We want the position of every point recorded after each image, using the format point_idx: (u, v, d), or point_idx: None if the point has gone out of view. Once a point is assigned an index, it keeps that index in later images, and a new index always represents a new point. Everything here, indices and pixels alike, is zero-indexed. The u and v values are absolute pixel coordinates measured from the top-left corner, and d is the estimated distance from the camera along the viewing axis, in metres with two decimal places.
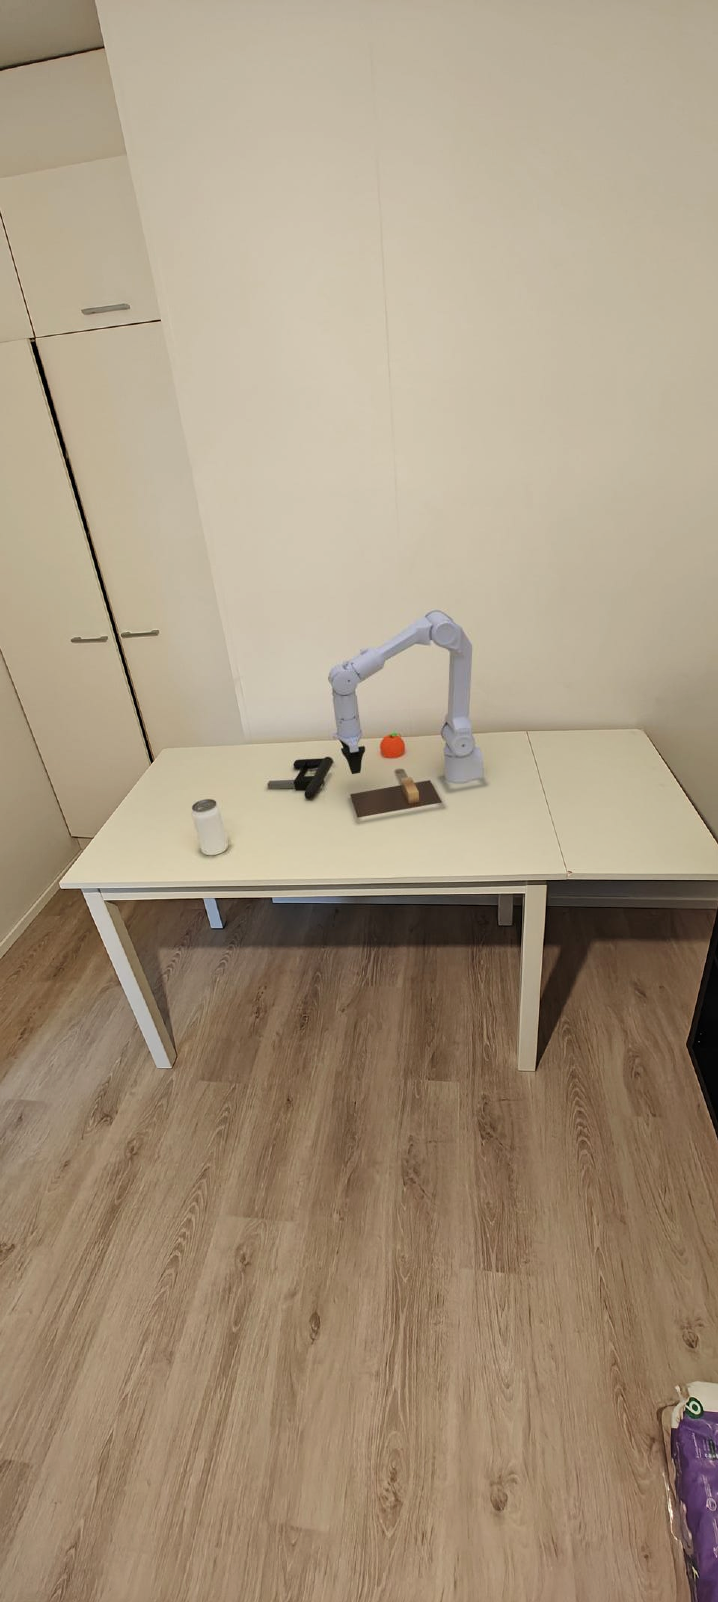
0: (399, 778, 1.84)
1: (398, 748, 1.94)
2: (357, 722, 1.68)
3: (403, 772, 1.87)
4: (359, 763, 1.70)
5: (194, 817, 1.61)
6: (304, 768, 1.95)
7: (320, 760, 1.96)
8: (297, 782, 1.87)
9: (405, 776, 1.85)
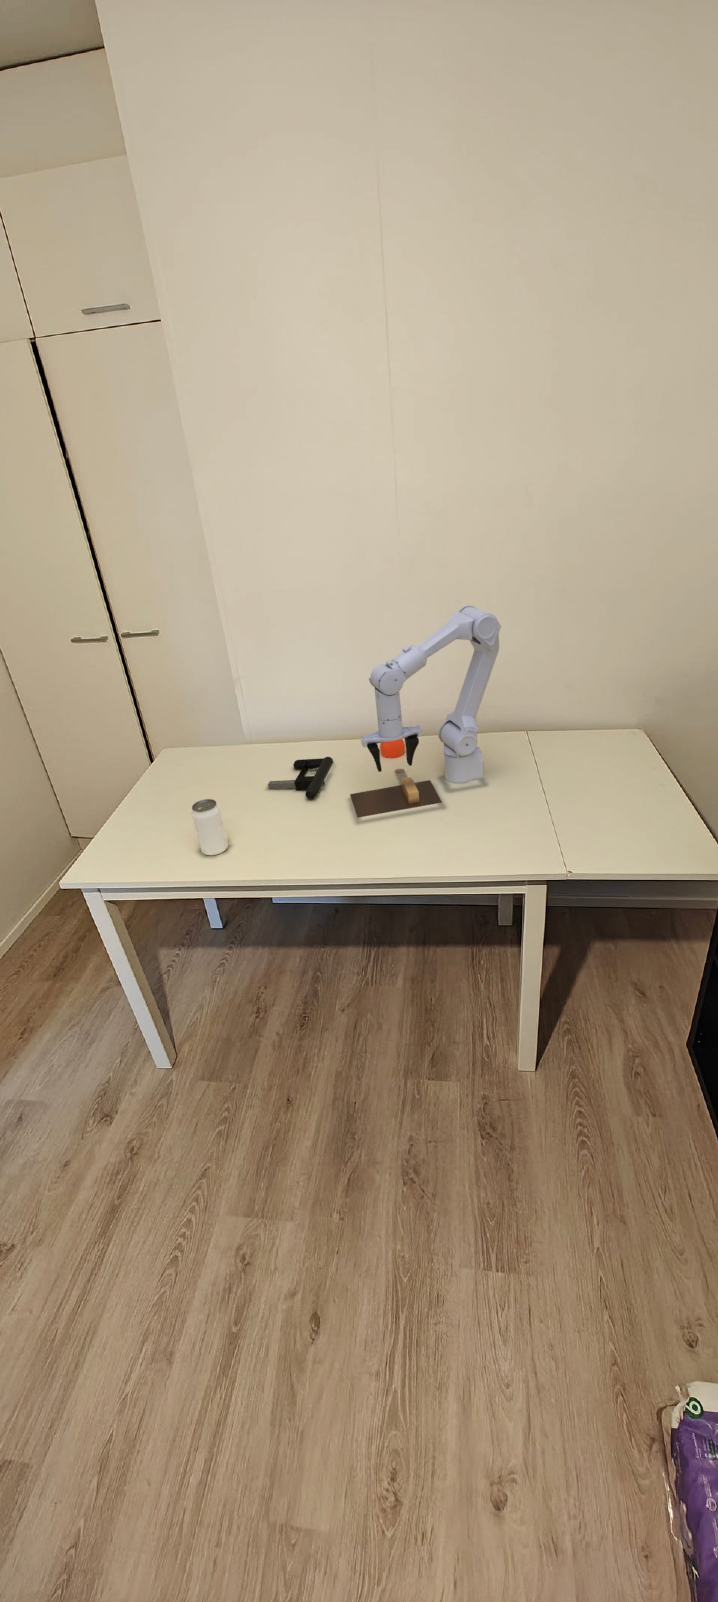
0: (399, 778, 1.84)
1: (398, 748, 1.94)
2: (384, 726, 1.65)
3: (403, 772, 1.87)
4: None
5: (194, 817, 1.61)
6: (304, 768, 1.95)
7: (320, 760, 1.96)
8: (298, 782, 1.87)
9: (405, 776, 1.85)
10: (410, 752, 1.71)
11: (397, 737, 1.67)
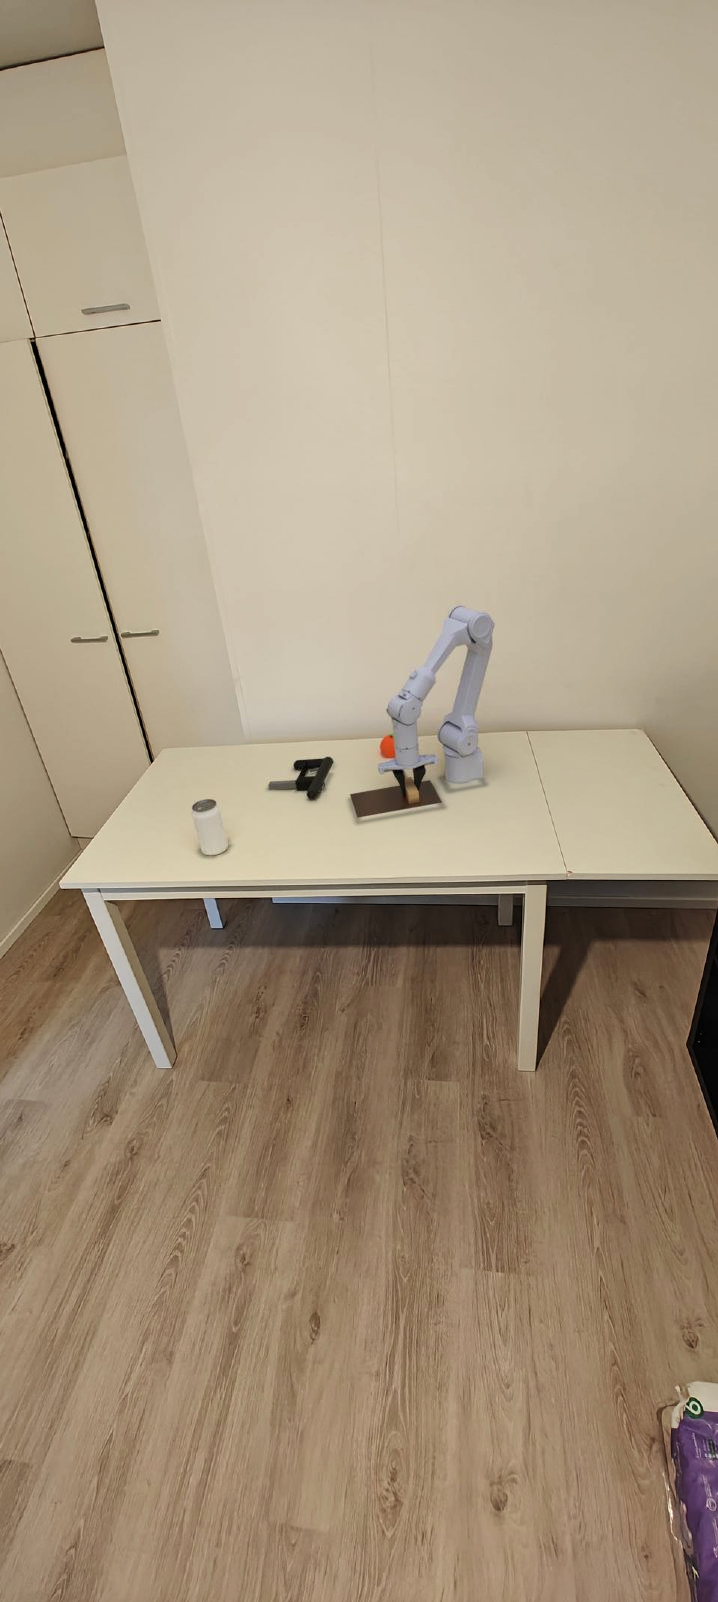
0: None
1: None
2: (400, 754, 1.68)
3: None
4: None
5: (194, 817, 1.61)
6: (304, 768, 1.95)
7: (320, 760, 1.96)
8: (298, 782, 1.87)
9: (405, 776, 1.85)
10: (417, 781, 1.73)
11: (413, 765, 1.70)
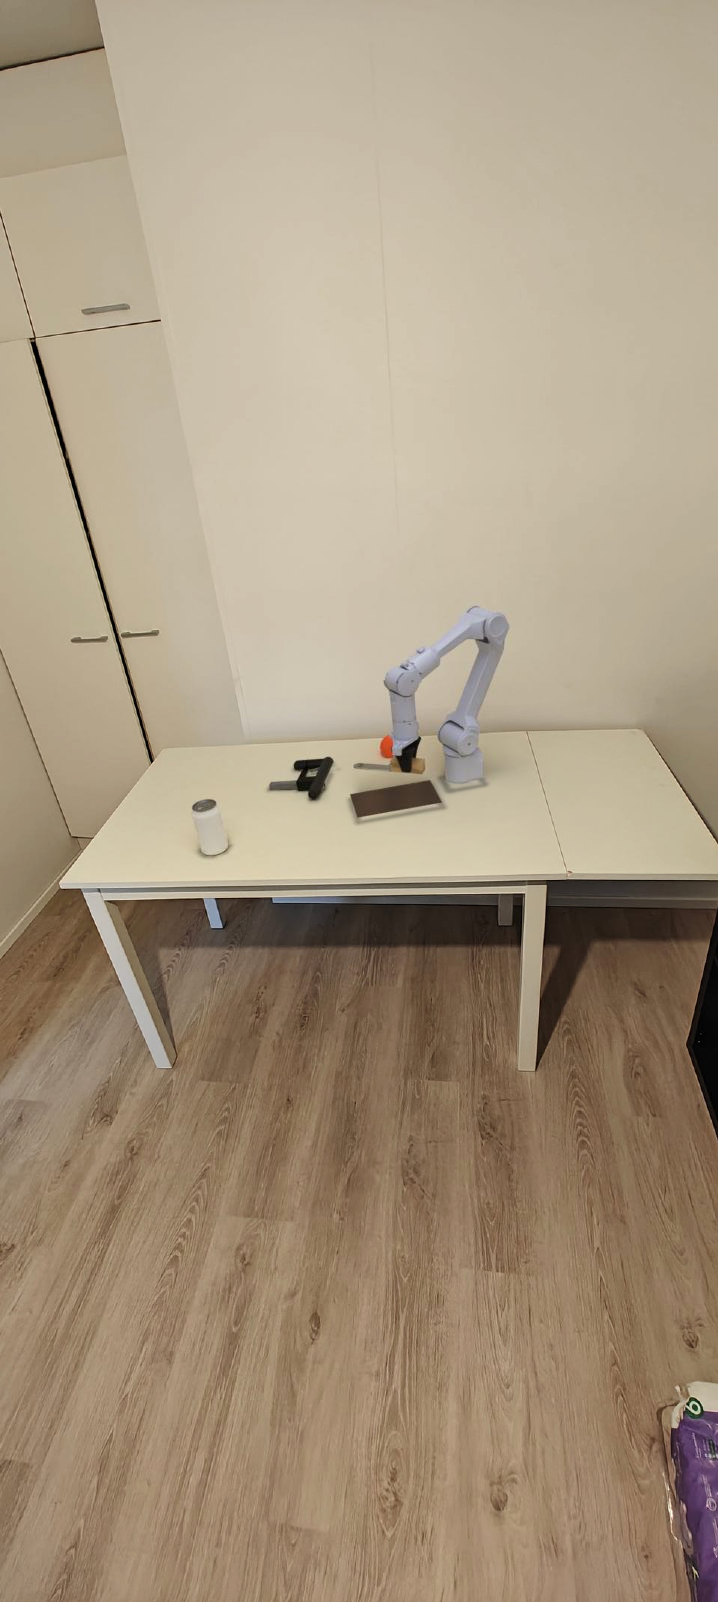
0: (372, 768, 1.76)
1: None
2: (410, 726, 1.65)
3: (364, 764, 1.78)
4: (409, 763, 1.70)
5: (194, 817, 1.61)
6: (305, 768, 1.94)
7: (320, 760, 1.96)
8: (299, 782, 1.87)
9: (374, 764, 1.77)
10: (415, 751, 1.72)
11: None
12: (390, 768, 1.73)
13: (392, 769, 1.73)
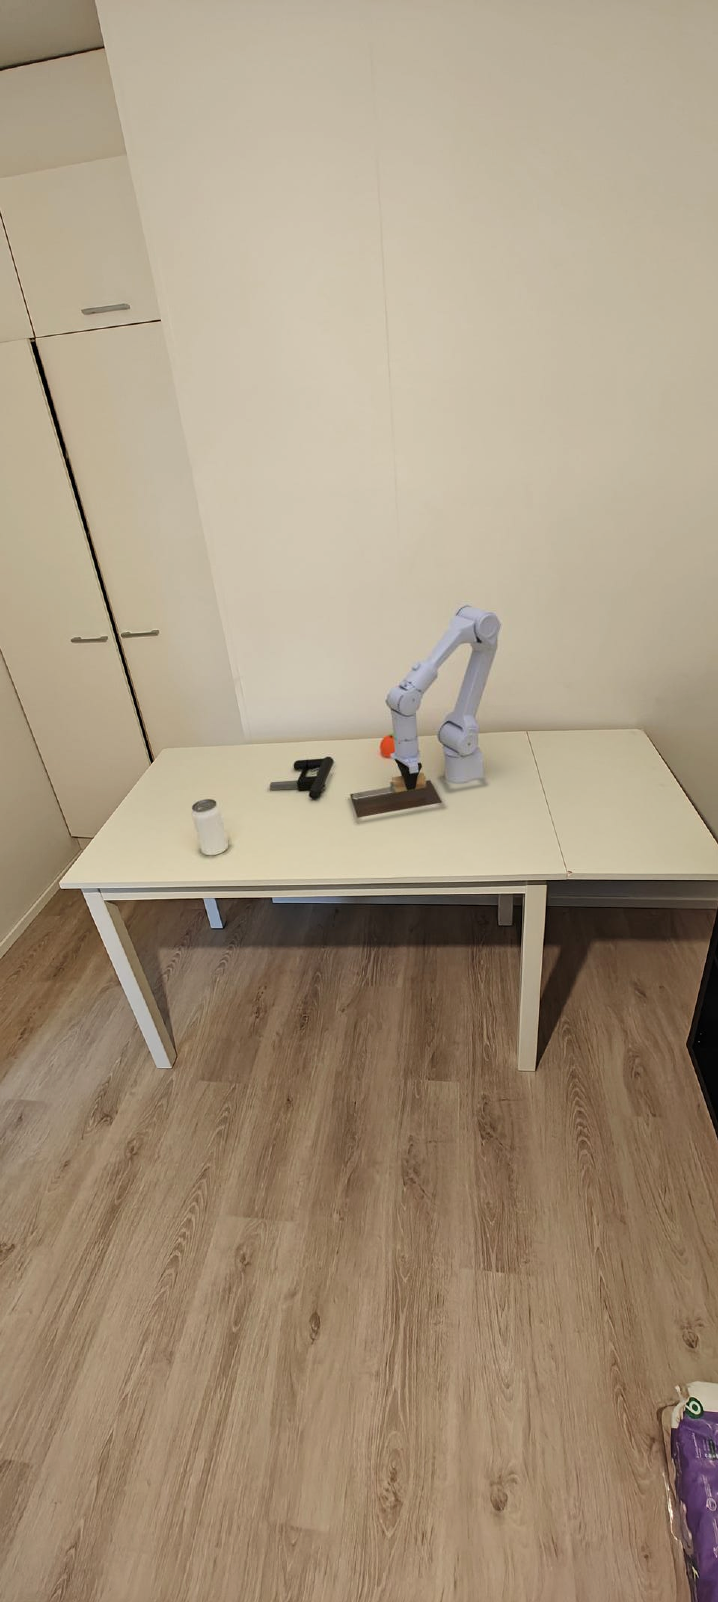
0: (374, 794, 1.74)
1: None
2: (416, 743, 1.68)
3: (362, 792, 1.75)
4: (415, 779, 1.72)
5: (194, 817, 1.61)
6: (305, 768, 1.94)
7: (321, 760, 1.96)
8: (300, 782, 1.87)
9: (372, 791, 1.75)
10: None
11: None
12: (394, 789, 1.74)
13: (396, 790, 1.74)
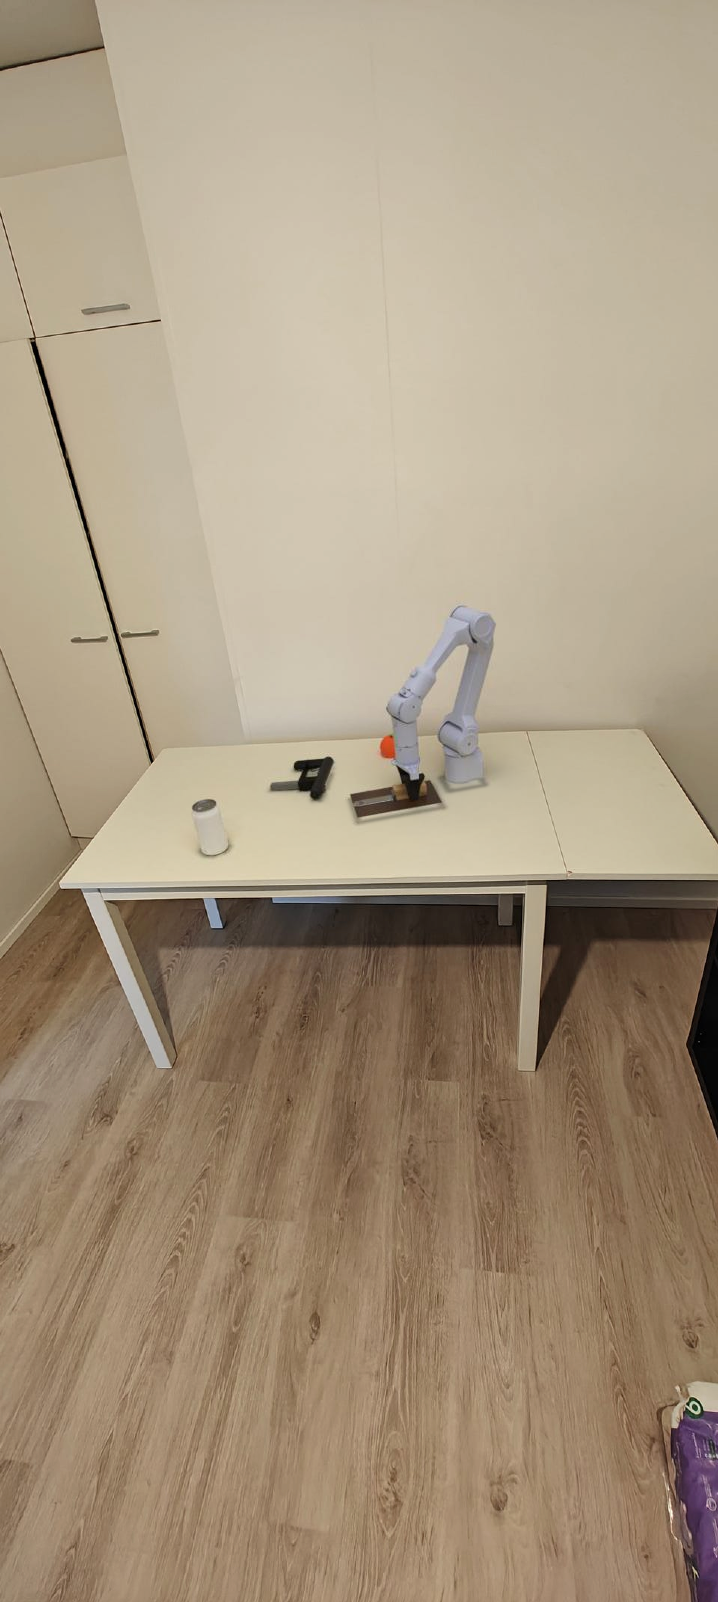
0: (375, 802, 1.75)
1: None
2: (416, 749, 1.69)
3: (363, 800, 1.76)
4: (418, 790, 1.71)
5: (194, 817, 1.61)
6: (305, 769, 1.94)
7: (321, 760, 1.96)
8: (301, 783, 1.87)
9: (373, 798, 1.76)
10: None
11: None
12: (394, 797, 1.75)
13: (397, 798, 1.75)
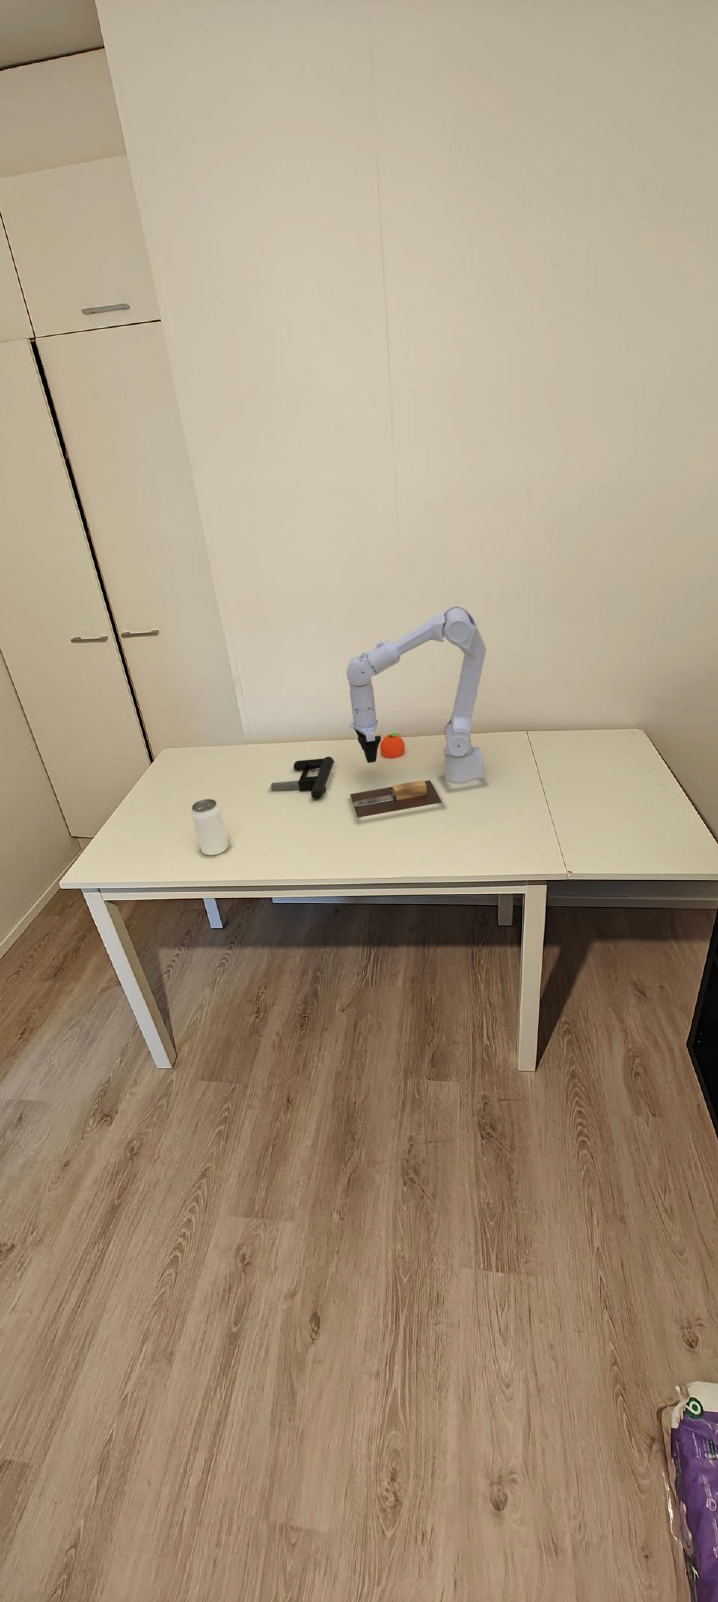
0: (375, 802, 1.75)
1: (398, 748, 1.94)
2: (373, 712, 1.73)
3: (363, 800, 1.76)
4: (375, 752, 1.76)
5: (194, 817, 1.61)
6: (305, 769, 1.94)
7: (321, 760, 1.96)
8: (302, 783, 1.87)
9: (373, 798, 1.76)
10: None
11: None
12: (394, 797, 1.75)
13: (397, 798, 1.75)
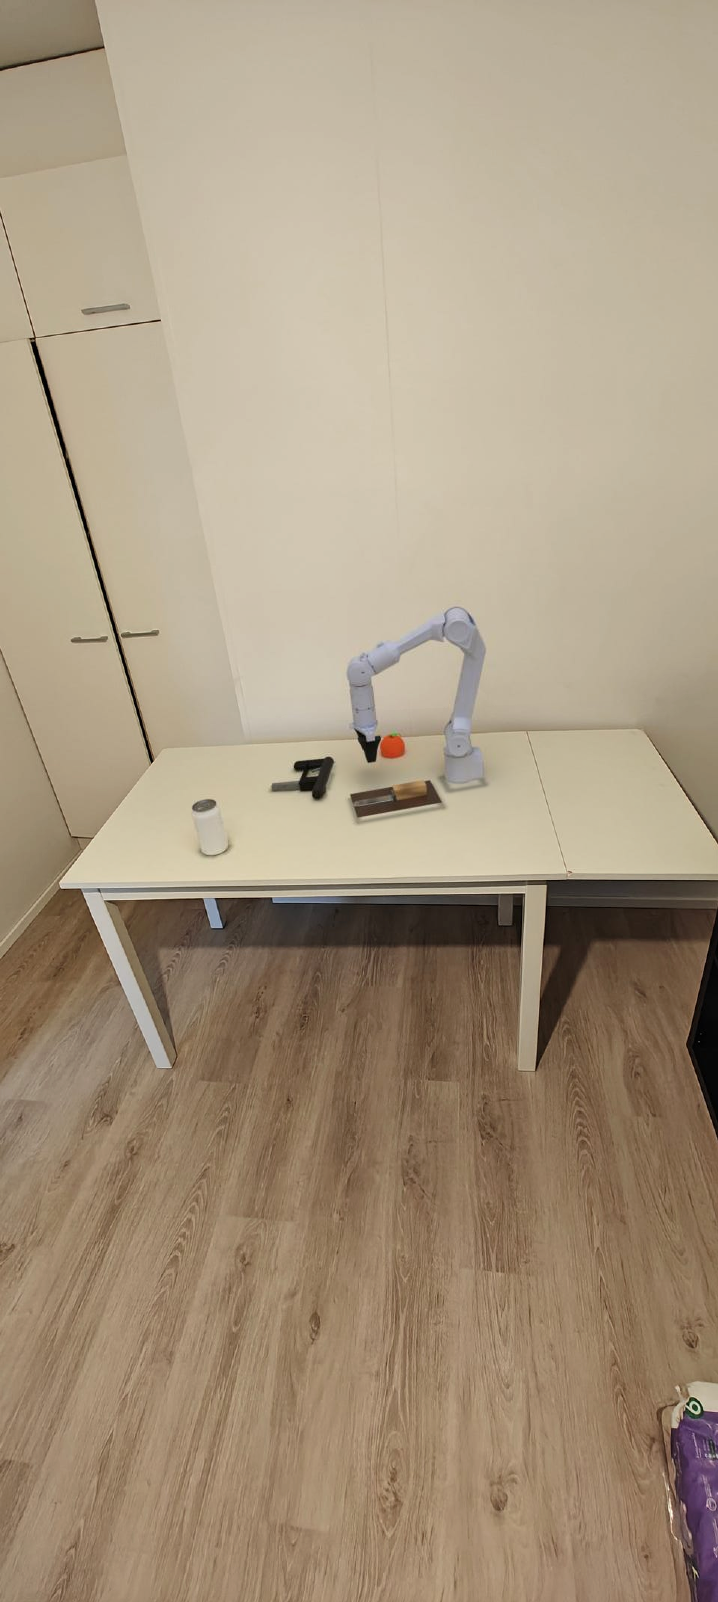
0: (375, 802, 1.75)
1: (398, 748, 1.94)
2: (373, 712, 1.73)
3: (363, 800, 1.76)
4: (375, 752, 1.76)
5: (194, 817, 1.61)
6: (306, 769, 1.94)
7: (321, 760, 1.96)
8: (302, 783, 1.86)
9: (373, 798, 1.76)
10: None
11: None
12: (394, 797, 1.75)
13: (397, 798, 1.75)
